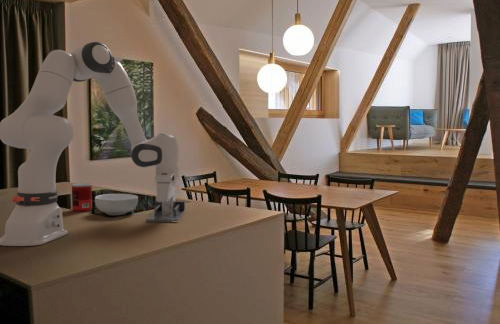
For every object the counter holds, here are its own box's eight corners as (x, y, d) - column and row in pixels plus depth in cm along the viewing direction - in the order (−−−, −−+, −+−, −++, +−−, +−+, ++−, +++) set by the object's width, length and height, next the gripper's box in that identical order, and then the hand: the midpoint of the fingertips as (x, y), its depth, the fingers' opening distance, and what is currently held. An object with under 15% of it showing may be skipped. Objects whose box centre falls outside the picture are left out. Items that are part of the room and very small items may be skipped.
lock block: (173, 213, 186) (173, 197, 185) (161, 213, 186) (161, 196, 185) (175, 210, 193) (175, 194, 192) (164, 210, 193) (164, 194, 192)
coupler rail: (178, 222, 174) (178, 210, 173) (145, 222, 174) (145, 210, 173) (185, 211, 196) (185, 200, 195) (156, 211, 196) (156, 200, 195)
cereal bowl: (122, 219, 179) (122, 200, 178) (86, 215, 184) (85, 198, 183) (145, 211, 195) (145, 194, 194) (112, 208, 200) (111, 192, 199)
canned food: (95, 208, 199) (94, 183, 198) (86, 212, 191) (86, 185, 190) (77, 208, 199) (77, 182, 198) (68, 211, 191) (68, 185, 191)
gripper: (164, 172, 193) (164, 205, 194) (153, 178, 173) (153, 215, 174) (179, 172, 193) (179, 205, 194) (170, 178, 173) (170, 215, 174)
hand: (167, 210), depth 184 cm, fingers closed
